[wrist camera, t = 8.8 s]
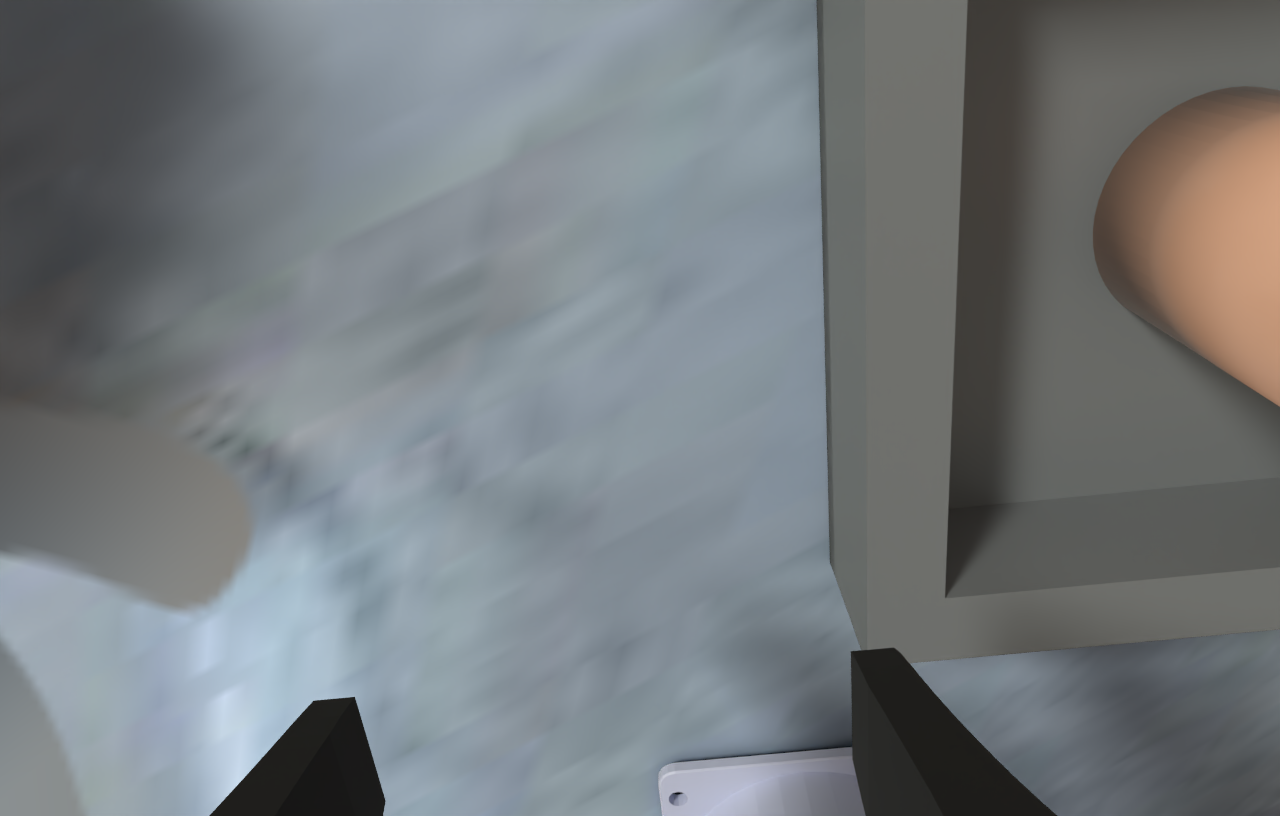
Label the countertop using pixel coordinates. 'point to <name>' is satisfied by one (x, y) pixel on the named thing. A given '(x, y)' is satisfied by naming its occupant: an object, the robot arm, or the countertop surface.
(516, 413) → the countertop surface
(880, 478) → the bin
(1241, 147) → the peach rounded cylinder
